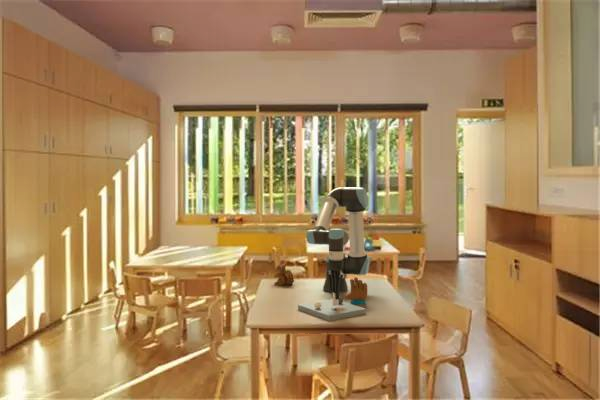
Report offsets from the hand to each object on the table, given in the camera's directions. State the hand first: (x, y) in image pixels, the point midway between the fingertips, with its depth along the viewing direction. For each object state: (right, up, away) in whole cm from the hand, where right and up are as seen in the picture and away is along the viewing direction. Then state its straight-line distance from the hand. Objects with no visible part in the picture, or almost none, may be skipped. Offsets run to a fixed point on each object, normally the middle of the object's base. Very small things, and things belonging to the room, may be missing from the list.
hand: (335, 305), depth 254 cm
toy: (+13, -4, +20) cm, 24 cm away
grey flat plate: (-2, -4, +3) cm, 5 cm away
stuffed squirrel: (-28, -2, +72) cm, 77 cm away
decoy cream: (-9, 0, -1) cm, 9 cm away
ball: (+2, -2, -2) cm, 4 cm away
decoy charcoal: (+3, +1, +10) cm, 10 cm away
